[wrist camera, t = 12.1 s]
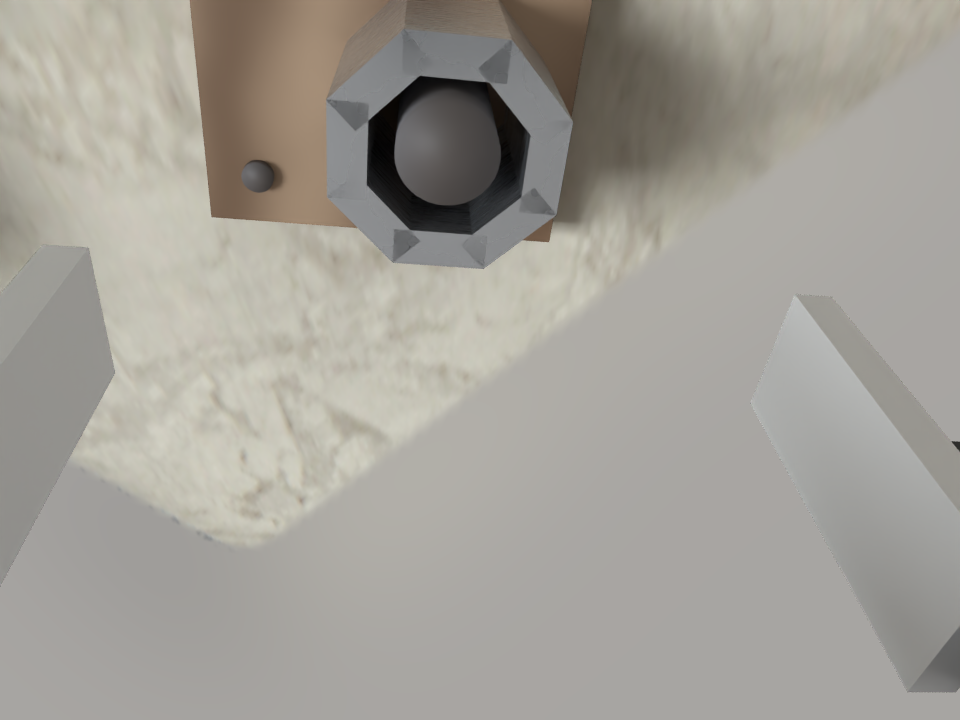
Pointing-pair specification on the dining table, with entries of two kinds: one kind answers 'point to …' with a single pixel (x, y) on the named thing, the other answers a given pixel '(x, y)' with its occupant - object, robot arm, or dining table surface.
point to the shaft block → (302, 105)
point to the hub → (371, 140)
